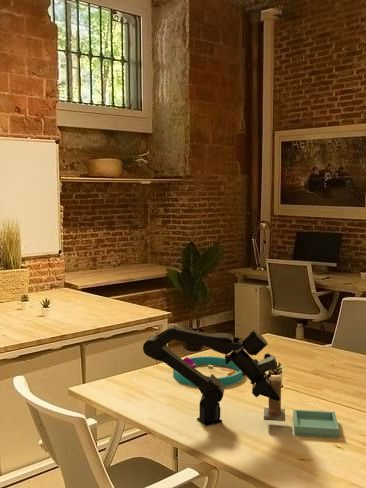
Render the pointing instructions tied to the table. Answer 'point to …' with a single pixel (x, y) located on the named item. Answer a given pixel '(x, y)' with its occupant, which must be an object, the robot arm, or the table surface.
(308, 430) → the tray
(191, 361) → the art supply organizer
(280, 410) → the handle post
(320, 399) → the table surface
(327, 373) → the table surface
